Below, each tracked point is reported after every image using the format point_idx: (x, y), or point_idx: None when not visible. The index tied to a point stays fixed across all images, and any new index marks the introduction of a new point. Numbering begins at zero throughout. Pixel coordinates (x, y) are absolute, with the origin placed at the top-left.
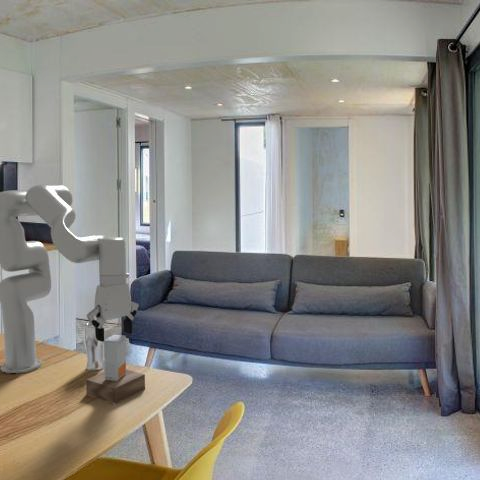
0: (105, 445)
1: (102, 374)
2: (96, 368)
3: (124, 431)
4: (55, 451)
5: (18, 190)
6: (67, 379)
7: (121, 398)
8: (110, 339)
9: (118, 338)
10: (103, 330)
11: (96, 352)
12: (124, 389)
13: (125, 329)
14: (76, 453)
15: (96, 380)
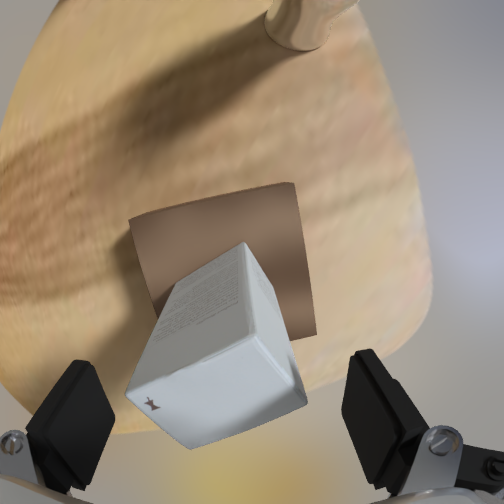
0: None
1: (201, 218)
2: (285, 44)
3: (145, 428)
4: (40, 389)
5: None
6: (168, 49)
7: None
8: (169, 409)
9: (227, 425)
10: (87, 475)
11: (299, 14)
12: None
13: (355, 388)
14: None
15: (153, 258)
